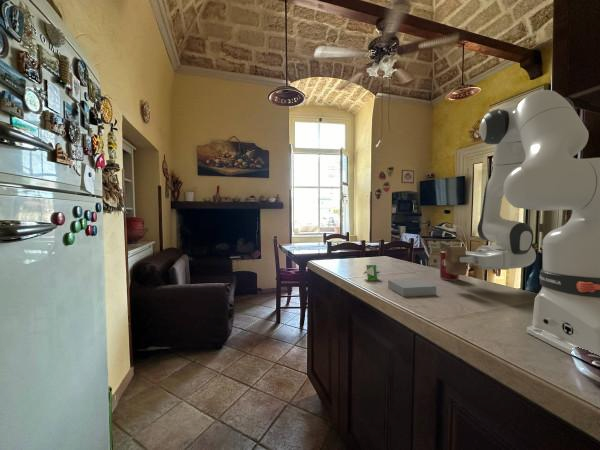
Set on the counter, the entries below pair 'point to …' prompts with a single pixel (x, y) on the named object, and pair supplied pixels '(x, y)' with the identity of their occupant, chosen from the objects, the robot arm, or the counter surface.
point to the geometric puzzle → (371, 272)
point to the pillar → (455, 260)
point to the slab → (411, 287)
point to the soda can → (443, 269)
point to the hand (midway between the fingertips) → (453, 258)
